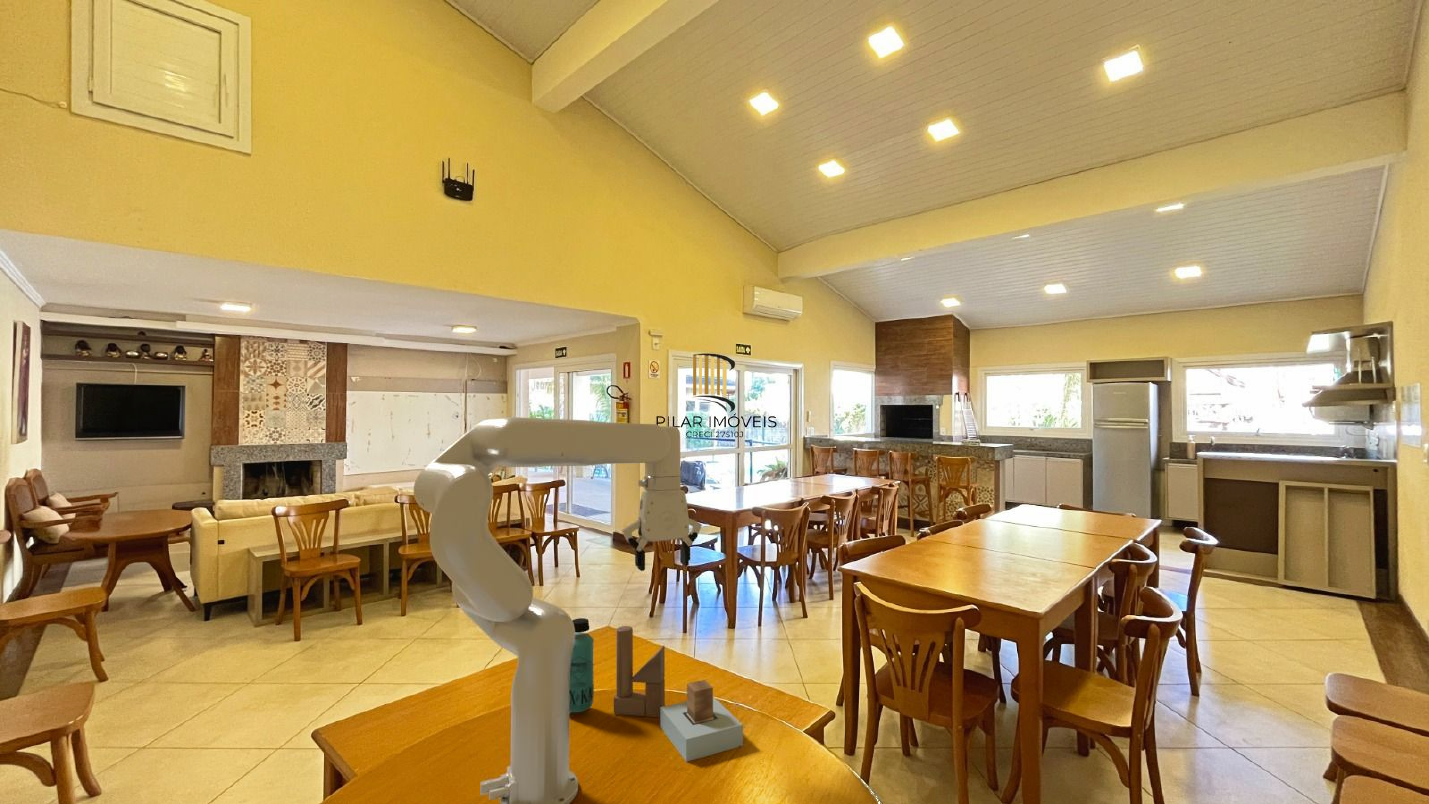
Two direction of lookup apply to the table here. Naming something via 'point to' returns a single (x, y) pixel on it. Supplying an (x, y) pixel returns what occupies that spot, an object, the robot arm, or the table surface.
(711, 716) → the peg
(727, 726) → the grey square-hole block
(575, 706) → the beverage bottle
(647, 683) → the wooden block structure
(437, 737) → the table surface
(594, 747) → the table surface
